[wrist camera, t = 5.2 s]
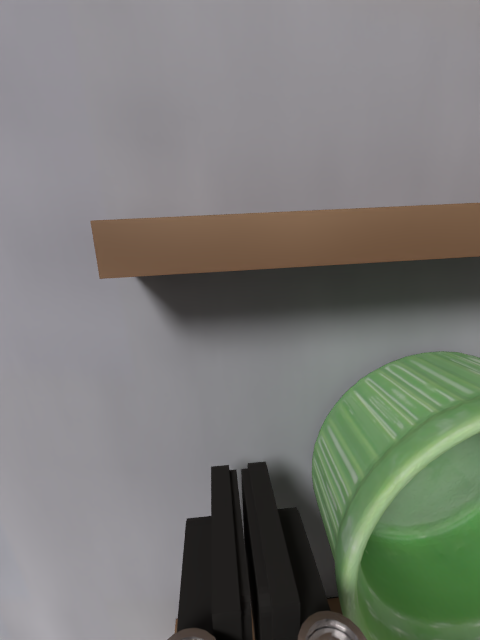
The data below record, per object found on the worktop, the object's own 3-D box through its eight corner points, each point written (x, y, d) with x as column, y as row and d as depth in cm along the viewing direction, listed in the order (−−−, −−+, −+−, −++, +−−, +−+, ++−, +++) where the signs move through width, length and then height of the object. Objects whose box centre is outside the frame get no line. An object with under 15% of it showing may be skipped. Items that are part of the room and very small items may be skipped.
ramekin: (244, 442, 11) (264, 567, 7) (463, 278, 10) (635, 309, 6) (376, 582, 14) (452, 741, 9) (565, 457, 13) (742, 568, 8)
